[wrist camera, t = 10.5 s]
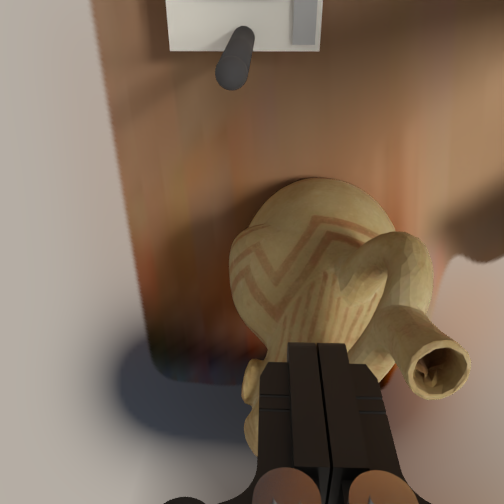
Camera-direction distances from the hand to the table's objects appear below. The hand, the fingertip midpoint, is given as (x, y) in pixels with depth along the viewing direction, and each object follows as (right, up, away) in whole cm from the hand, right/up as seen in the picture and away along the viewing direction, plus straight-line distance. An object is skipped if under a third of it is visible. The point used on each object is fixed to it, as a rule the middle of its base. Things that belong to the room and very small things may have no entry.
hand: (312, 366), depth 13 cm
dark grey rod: (-2, +19, +21) cm, 29 cm away
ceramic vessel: (+5, +5, +34) cm, 34 cm away
